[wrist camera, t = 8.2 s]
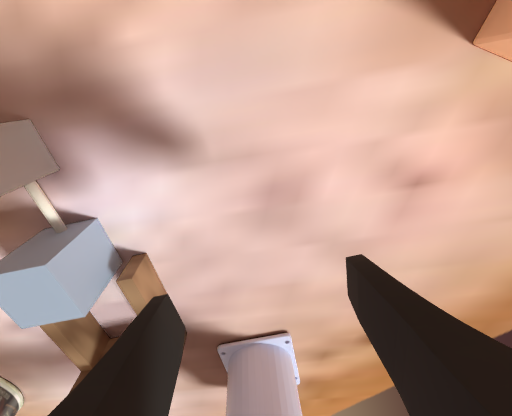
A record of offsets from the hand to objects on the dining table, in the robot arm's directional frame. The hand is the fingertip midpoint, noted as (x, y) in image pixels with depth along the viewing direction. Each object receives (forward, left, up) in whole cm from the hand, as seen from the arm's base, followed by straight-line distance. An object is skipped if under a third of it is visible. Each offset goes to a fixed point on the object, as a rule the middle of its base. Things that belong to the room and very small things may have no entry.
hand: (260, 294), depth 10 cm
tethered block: (+2, +14, -10) cm, 17 cm away
